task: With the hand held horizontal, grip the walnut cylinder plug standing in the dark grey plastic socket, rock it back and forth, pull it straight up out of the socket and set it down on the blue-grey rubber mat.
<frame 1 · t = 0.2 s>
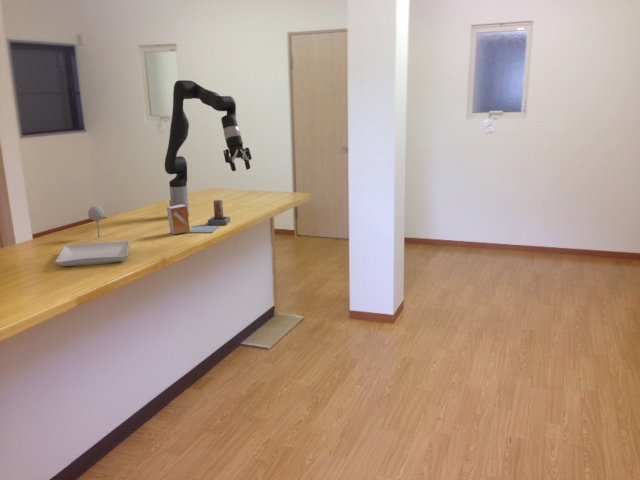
hand: (241, 170, 267), 30 cm above the table, tool tilted 20°, fingers open, 8 cm apart
lollipop: (98, 237, 269), on the table
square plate: (95, 259, 234), on the table
mat: (203, 230, 280), on the table
small box: (180, 232, 275), on the table, touching mat
socket: (219, 223, 295), on the table
plug: (218, 212, 293), in the socket
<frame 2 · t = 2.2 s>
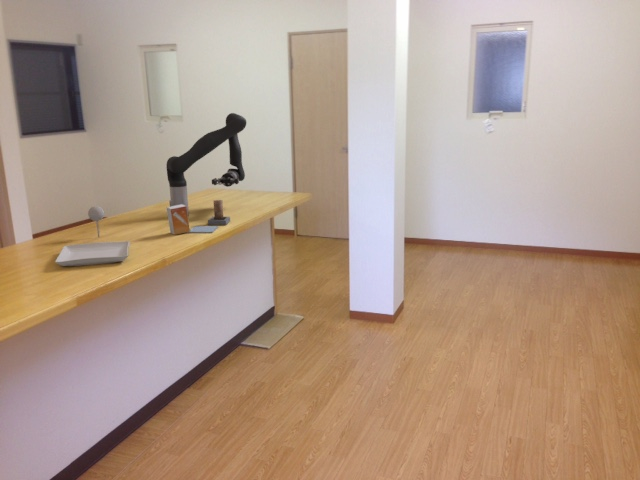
hand: (222, 183, 301), 19 cm above the table, tool horizontal, fingers open, 8 cm apart
nothing on the table moved.
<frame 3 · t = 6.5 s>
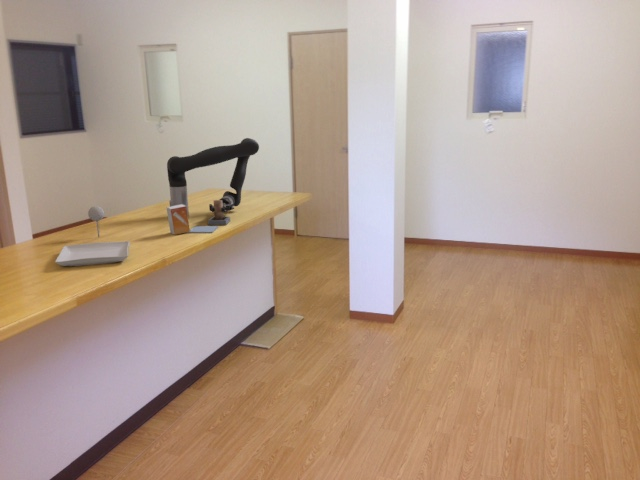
hand: (217, 210, 290), 8 cm above the table, tool horizontal, fingers closed on plug, 4 cm apart
plug: (218, 211, 293), in the socket, touching gripper
everything else where it was.
when the fingers open (9 cm above the table, at t = 13.9 s): plug stays where it is, resting on mat.
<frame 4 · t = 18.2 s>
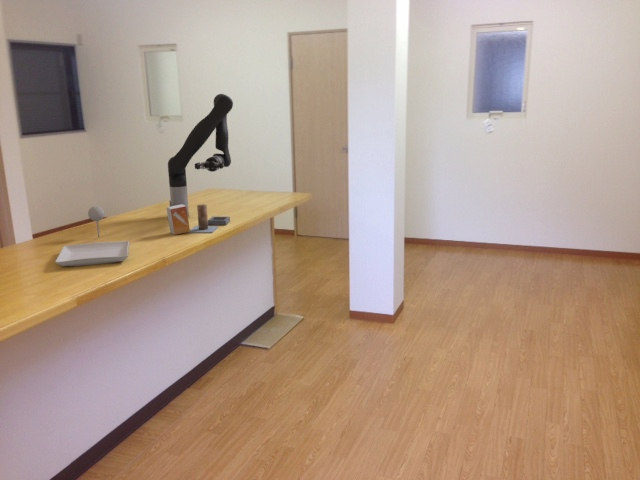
hand: (205, 167, 283), 30 cm above the table, tool horizontal, fingers open, 8 cm apart
plug: (202, 217, 278), on the mat, point 7 cm above the table
everything else where it was.
at the end: plug inside the target area on the mat (0.0 cm from its centre), point 6.6 cm above the mat's base; plug tilted 0°; the gripper is holding nothing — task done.
